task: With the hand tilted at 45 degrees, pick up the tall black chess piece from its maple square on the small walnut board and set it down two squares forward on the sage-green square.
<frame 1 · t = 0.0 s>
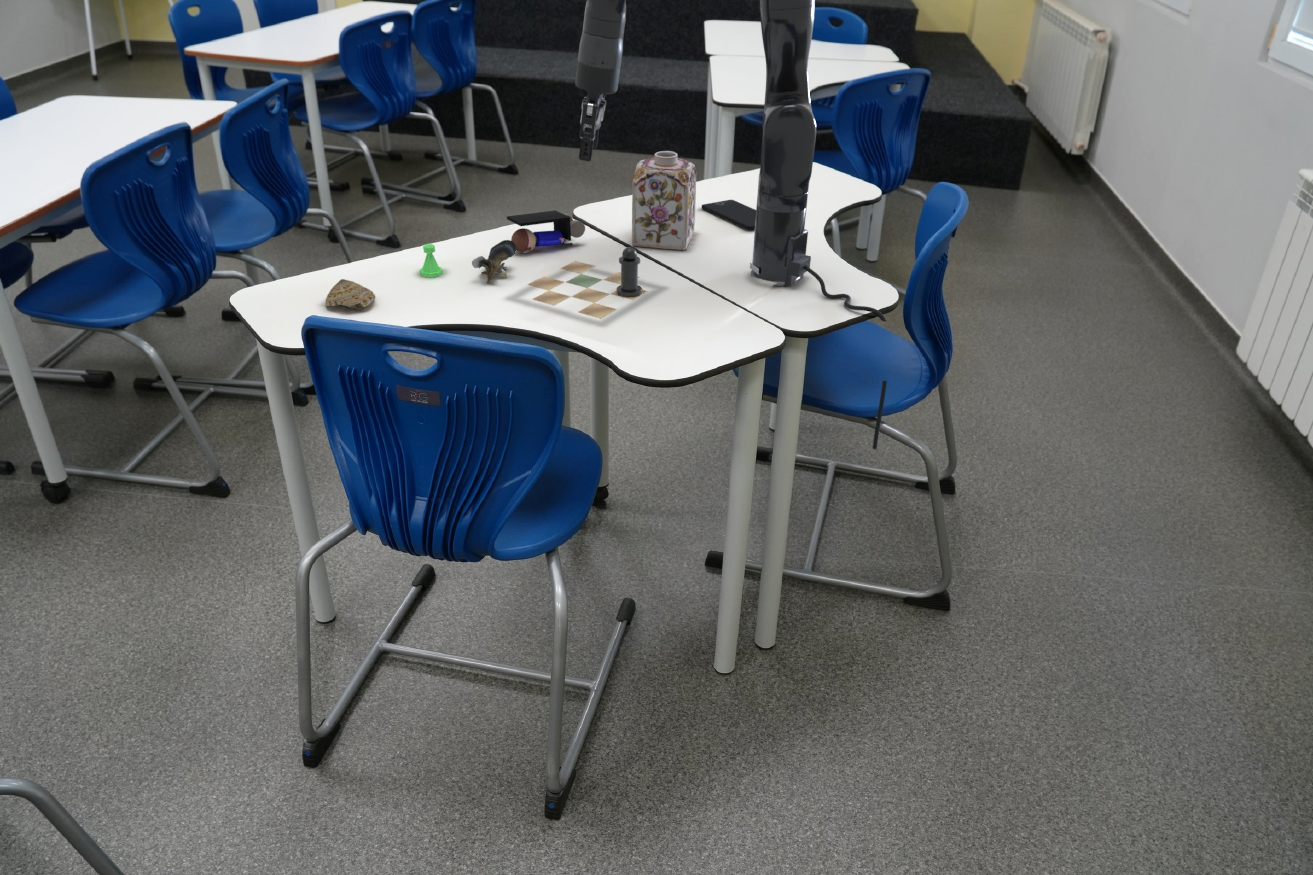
hand: (587, 154, 177), 22 cm above the table, tool pointing down, fingers open, 8 cm apart
decorative jar: (663, 240, 205), on the table
black chess piece: (629, 292, 177), point 1 cm above the table, touching chess board
game piece: (431, 274, 186), on the table
cell phone: (739, 217, 219), on the table
chess board: (587, 293, 179), on the table
brown rock: (352, 305, 172), on the table
figurine character: (546, 248, 199), on the table
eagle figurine: (496, 277, 185), on the table
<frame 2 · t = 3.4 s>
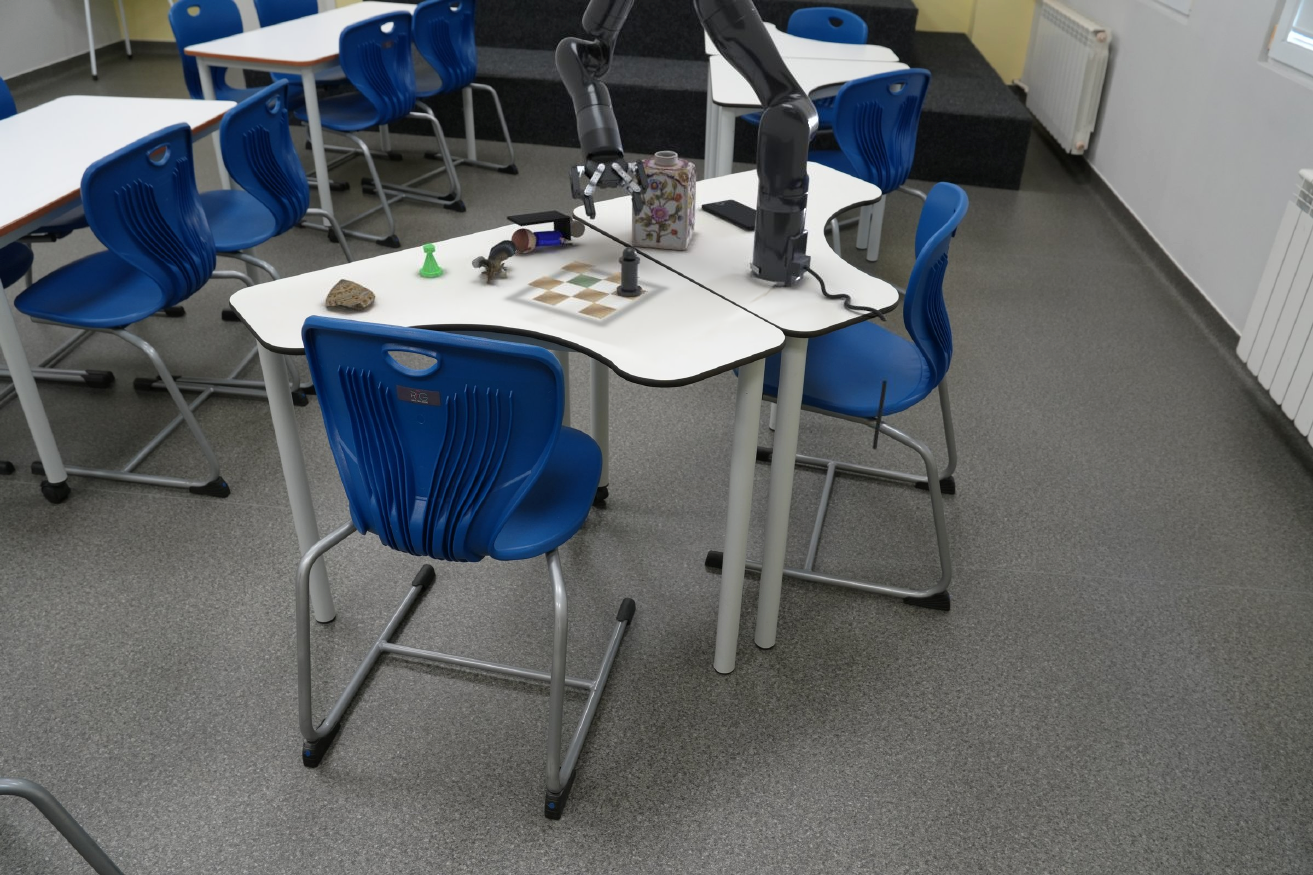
hand: (616, 215, 178), 13 cm above the table, tool tilted 45°, fingers open, 8 cm apart
nothing on the table moved.
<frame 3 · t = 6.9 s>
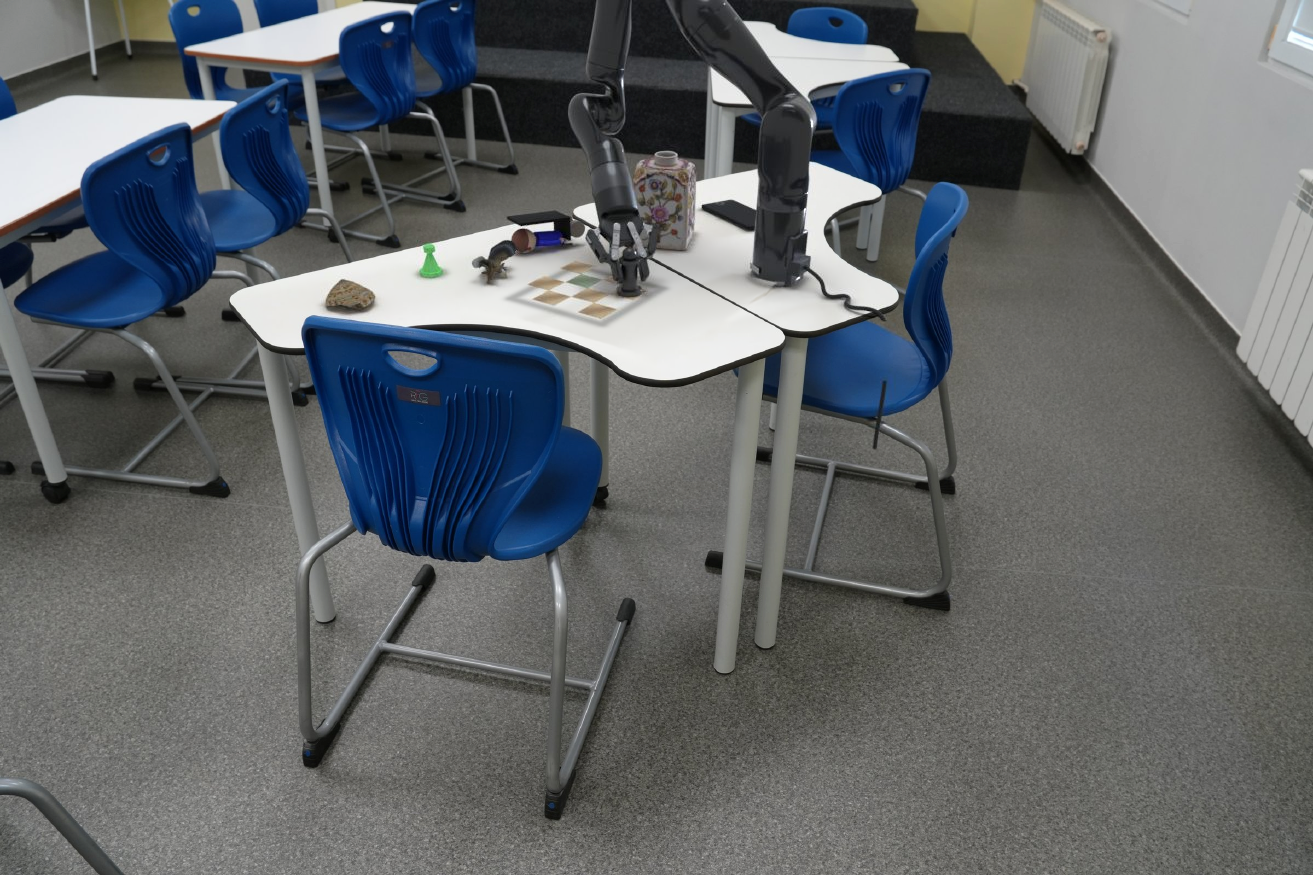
hand: (632, 280, 174), 4 cm above the table, tool tilted 45°, fingers closed on black chess piece, 3 cm apart
black chess piece: (629, 292, 177), point 1 cm above the table, touching chess board, gripper
everything else where it was.
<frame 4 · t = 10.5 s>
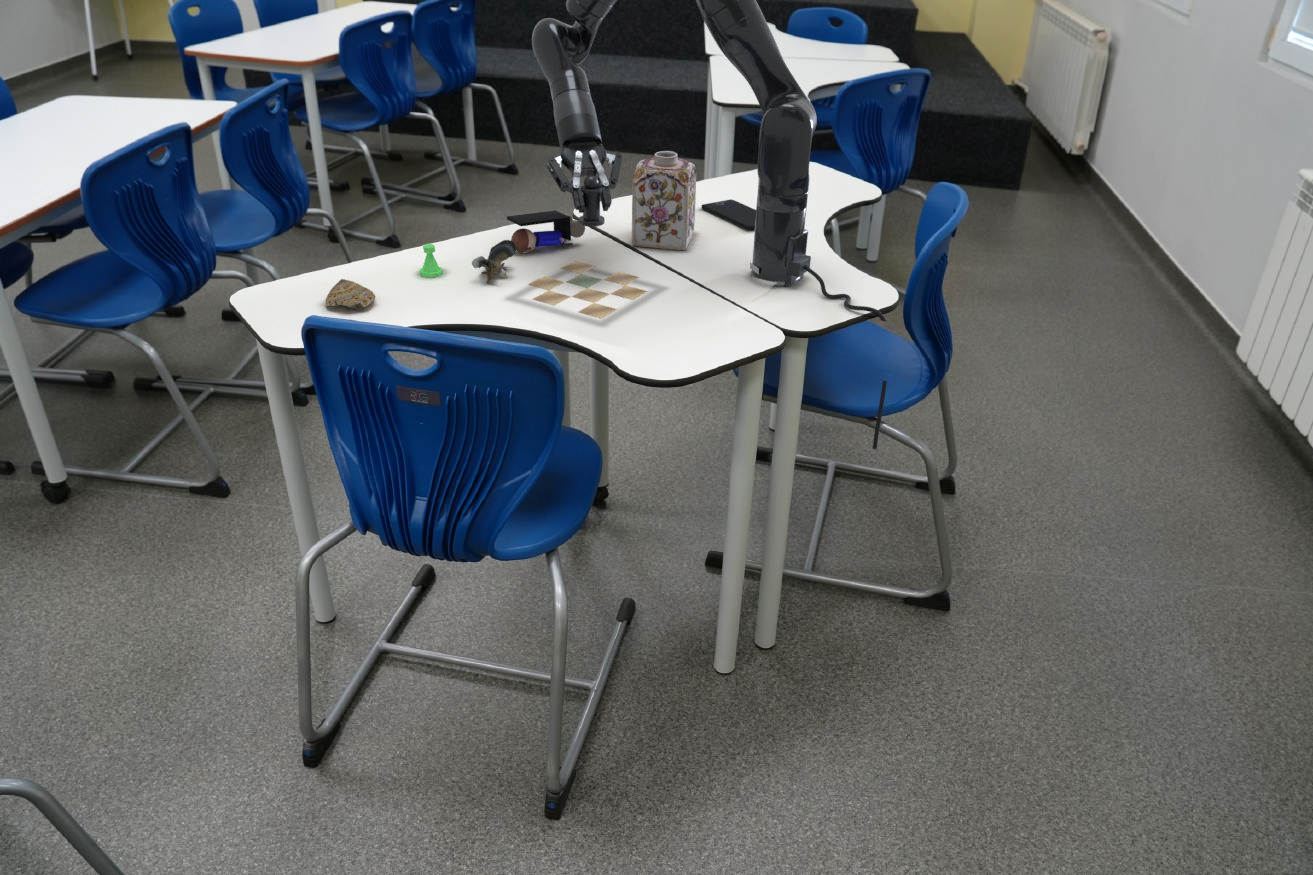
hand: (594, 209, 171), 16 cm above the table, tool tilted 45°, fingers closed on black chess piece, 3 cm apart
black chess piece: (591, 222, 175), point 13 cm above the table, touching gripper
everything else where it was.
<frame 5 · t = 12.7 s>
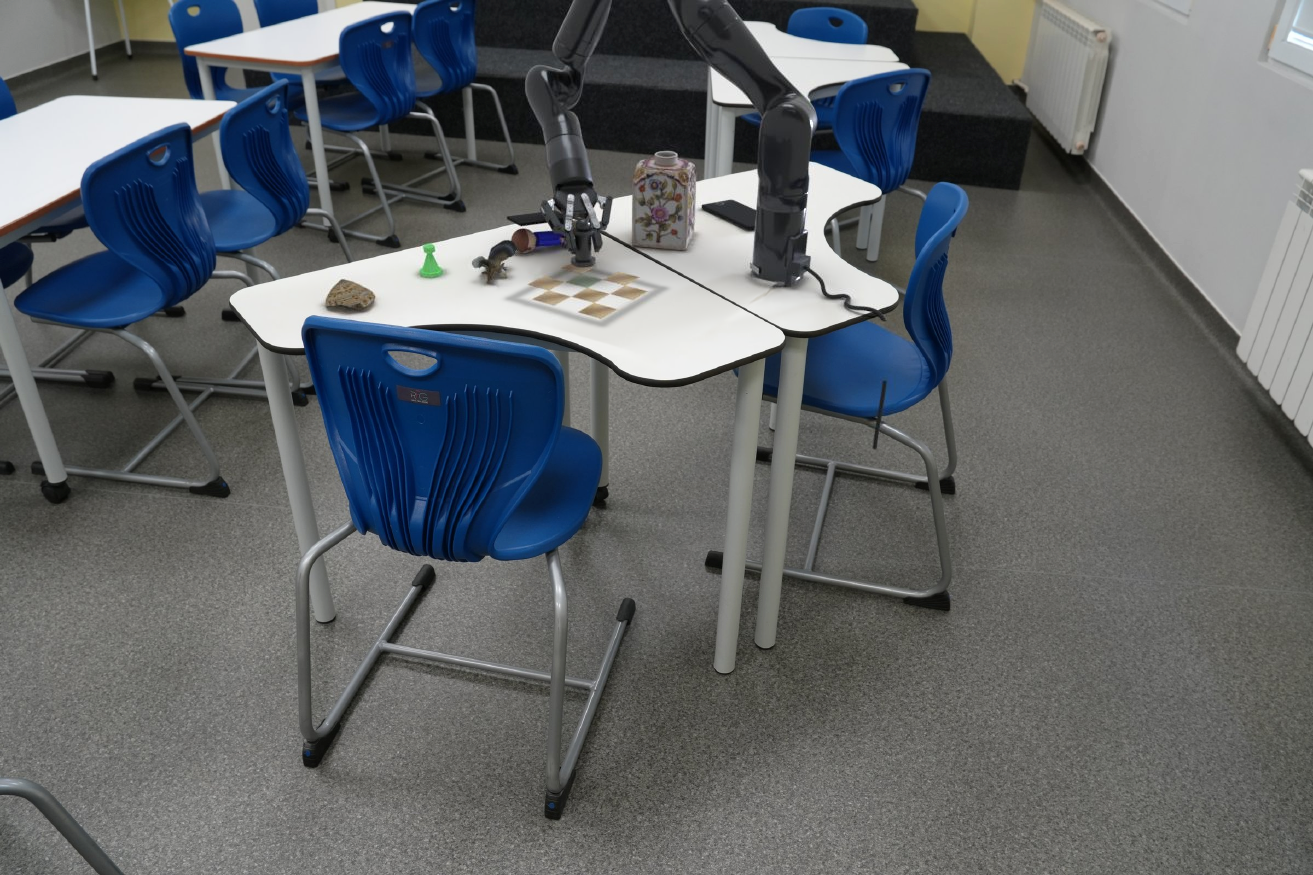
hand: (586, 251, 176), 8 cm above the table, tool tilted 45°, fingers closed on black chess piece, 3 cm apart
black chess piece: (583, 263, 180), point 4 cm above the table, touching gripper
everything else where it was.
when the fingers open (4 cm above the table, at t = 14.1 s): black chess piece stays where it is, resting on chess board.
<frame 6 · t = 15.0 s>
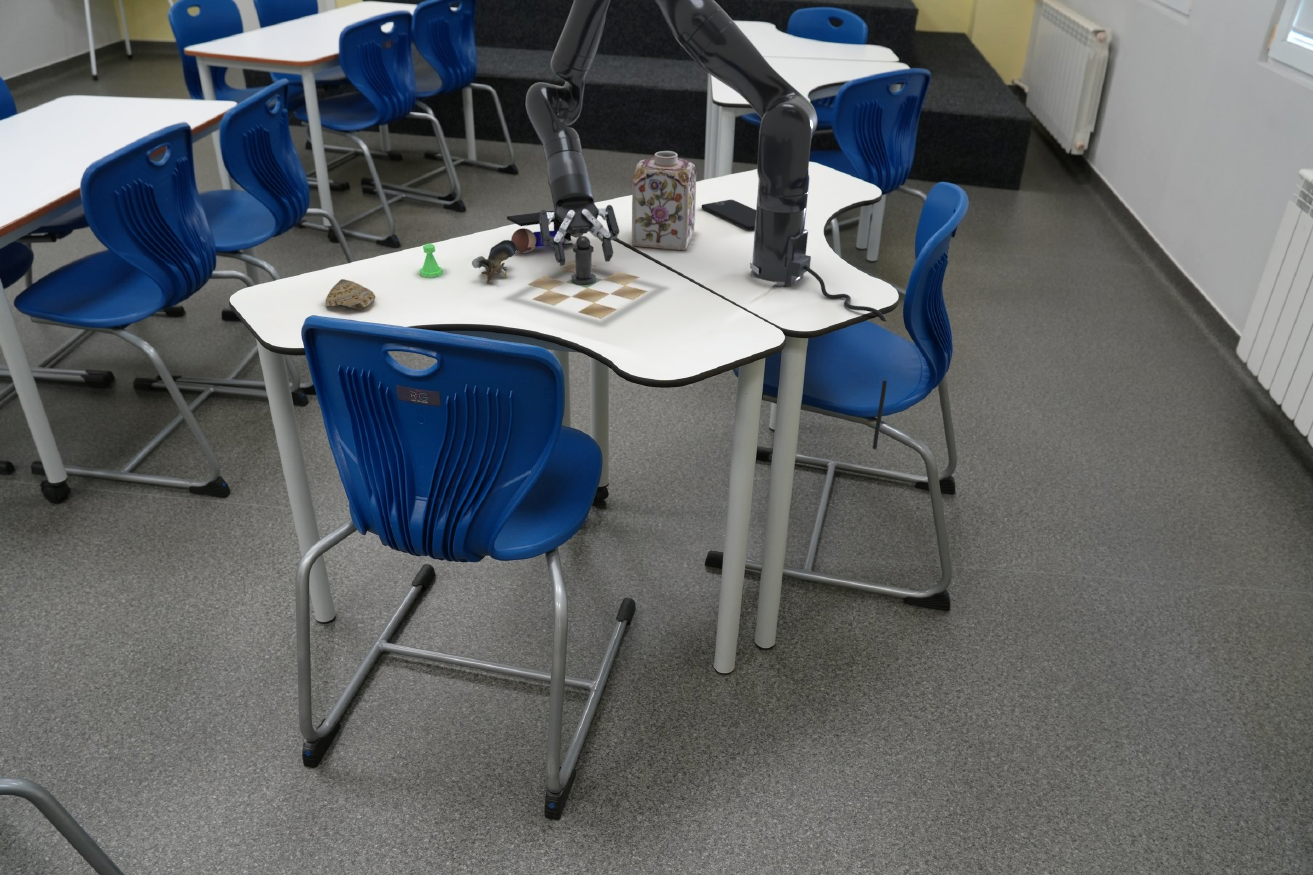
hand: (585, 262, 178), 5 cm above the table, tool tilted 45°, fingers open, 8 cm apart
black chess piece: (583, 280, 181), point 1 cm above the table, touching chess board
everything else where it was.
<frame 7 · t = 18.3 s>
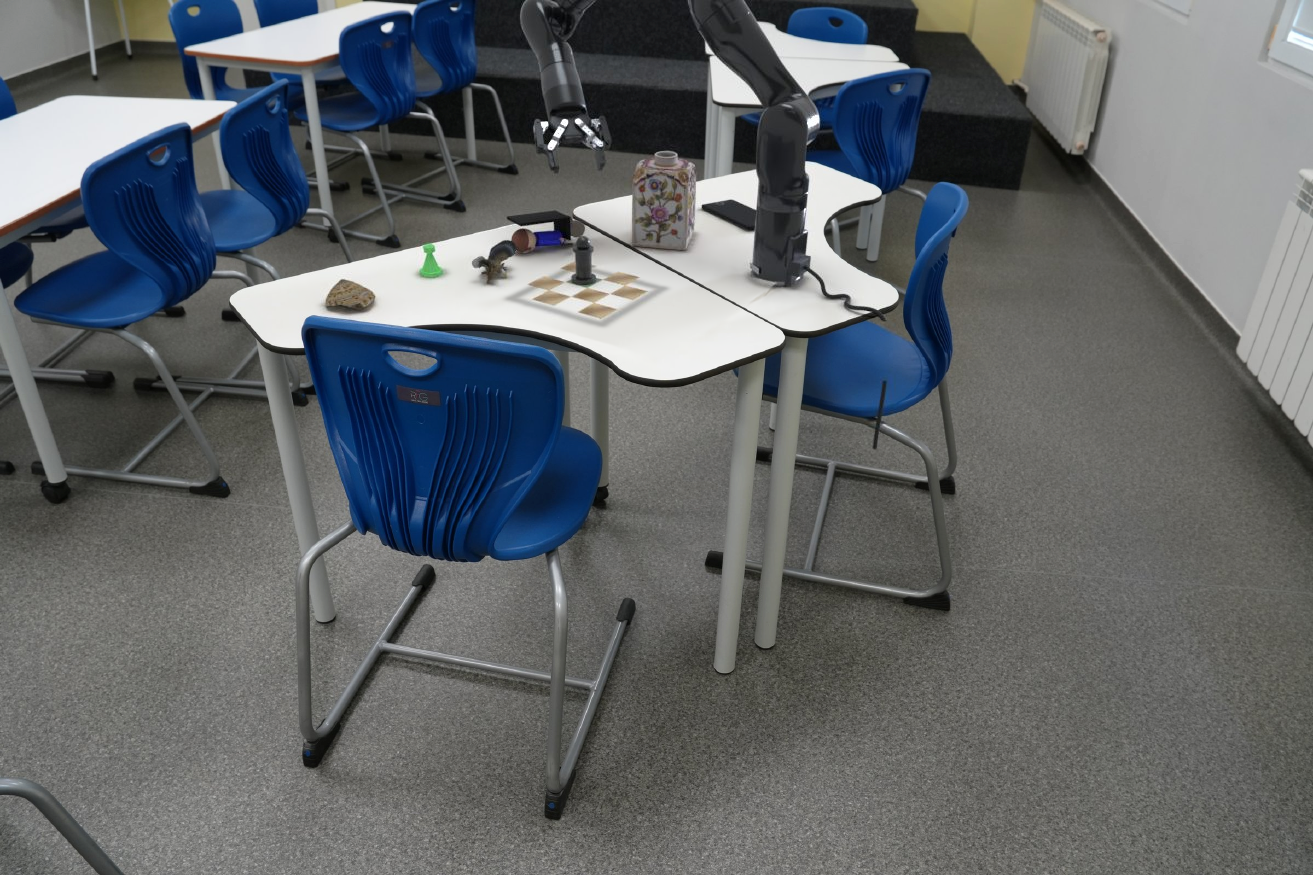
hand: (579, 170, 182), 18 cm above the table, tool tilted 45°, fingers open, 8 cm apart
nothing on the table moved.
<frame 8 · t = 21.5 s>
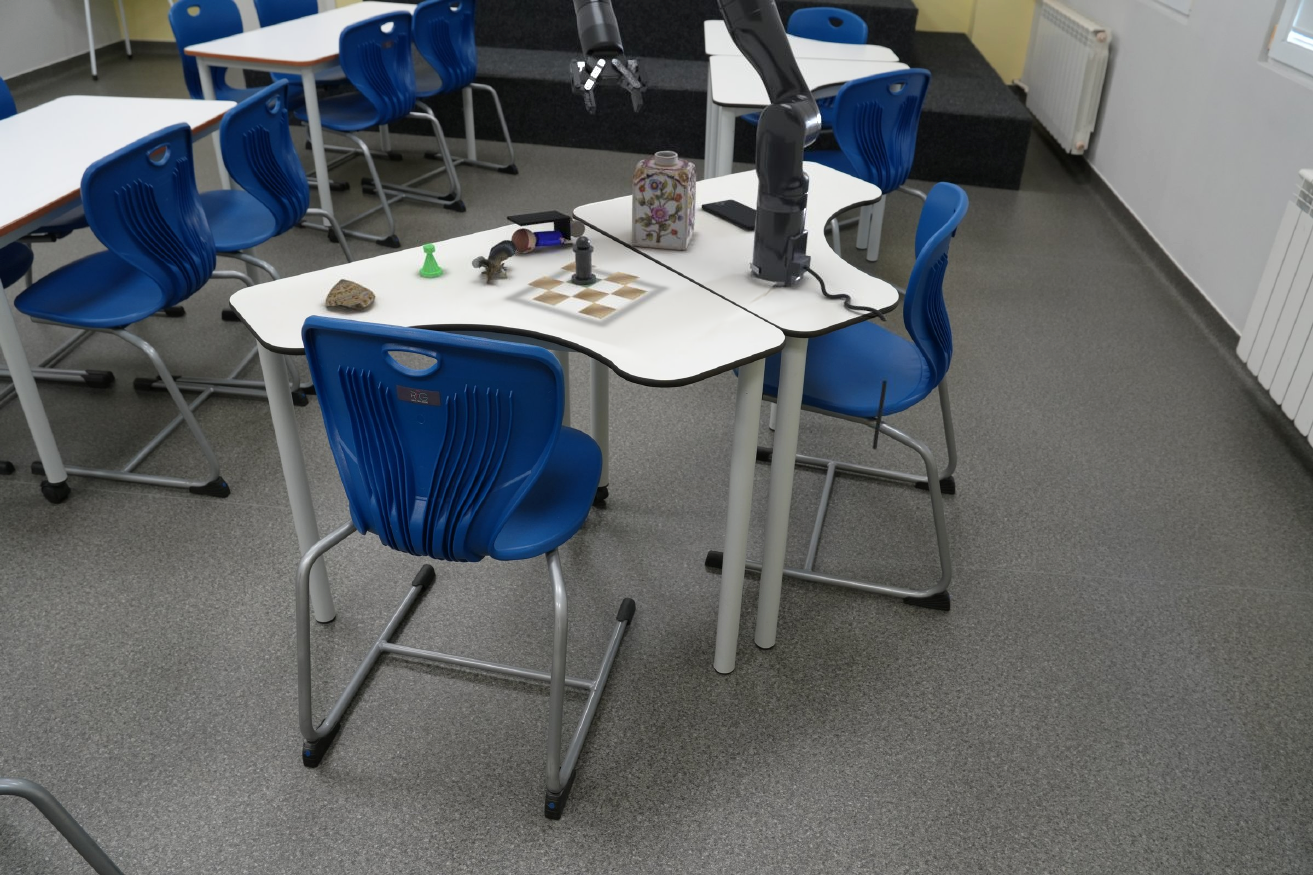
hand: (616, 110, 180), 29 cm above the table, tool tilted 45°, fingers open, 8 cm apart
nothing on the table moved.
at the end: black chess piece 0.1 cm from the target spot, point 1.1 cm above the table; black chess piece tilted 0°; the gripper is holding nothing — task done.
